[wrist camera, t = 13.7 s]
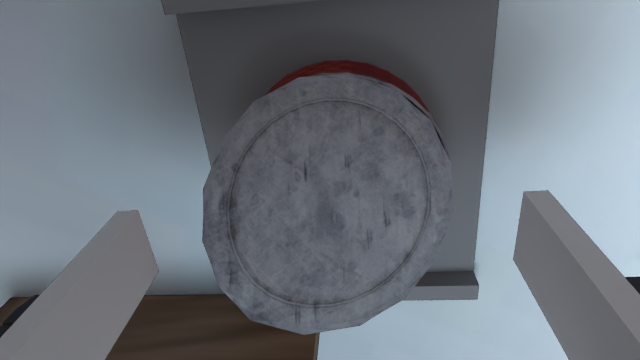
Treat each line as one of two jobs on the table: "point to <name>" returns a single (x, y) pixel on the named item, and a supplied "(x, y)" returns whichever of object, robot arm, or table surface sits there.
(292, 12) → the grey rectangular tray
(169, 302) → the wooden u-shaped shelf
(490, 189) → the table surface
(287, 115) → the canned food
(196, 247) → the table surface
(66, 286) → the robot arm
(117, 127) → the table surface
